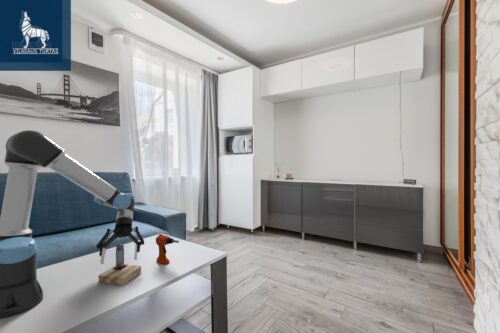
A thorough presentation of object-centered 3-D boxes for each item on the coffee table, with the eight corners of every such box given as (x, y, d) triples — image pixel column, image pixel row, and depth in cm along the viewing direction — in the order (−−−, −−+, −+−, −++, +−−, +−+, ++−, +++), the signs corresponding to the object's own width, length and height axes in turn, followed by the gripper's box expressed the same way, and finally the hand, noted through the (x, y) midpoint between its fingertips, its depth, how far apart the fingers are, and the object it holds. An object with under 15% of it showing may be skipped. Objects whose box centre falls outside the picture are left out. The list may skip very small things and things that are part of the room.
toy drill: (176, 268, 112) (173, 236, 113) (154, 263, 123) (152, 234, 124) (184, 265, 116) (182, 234, 117) (162, 260, 127) (160, 232, 128)
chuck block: (98, 282, 102) (98, 275, 102) (118, 269, 114) (118, 263, 114) (123, 284, 100) (122, 277, 100) (141, 272, 112) (141, 265, 112)
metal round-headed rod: (114, 274, 109) (113, 244, 108) (119, 271, 112) (119, 242, 112) (120, 275, 108) (120, 245, 108) (125, 271, 111) (125, 242, 111)
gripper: (151, 222, 128) (149, 260, 114) (98, 226, 120) (88, 268, 106) (150, 214, 123) (148, 253, 109) (94, 218, 115) (84, 260, 101)
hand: (118, 260), depth 108 cm, fingers open, 13 cm apart
